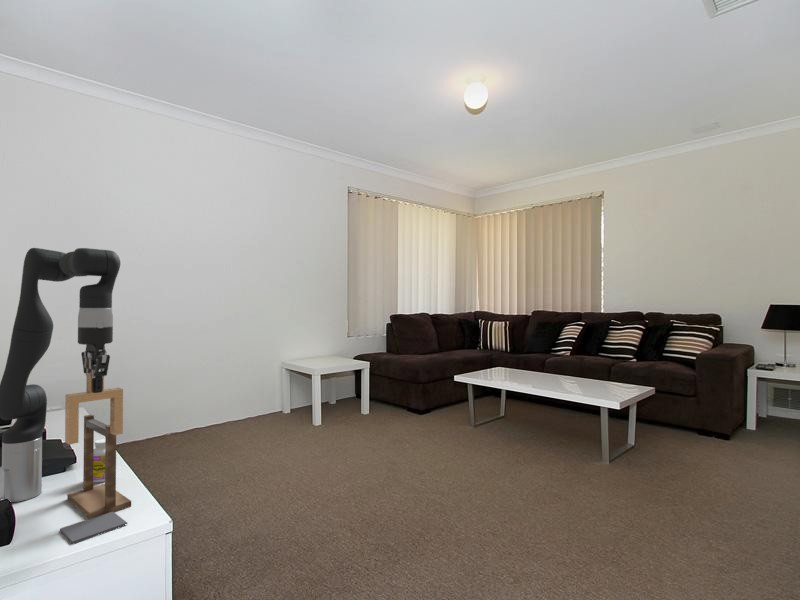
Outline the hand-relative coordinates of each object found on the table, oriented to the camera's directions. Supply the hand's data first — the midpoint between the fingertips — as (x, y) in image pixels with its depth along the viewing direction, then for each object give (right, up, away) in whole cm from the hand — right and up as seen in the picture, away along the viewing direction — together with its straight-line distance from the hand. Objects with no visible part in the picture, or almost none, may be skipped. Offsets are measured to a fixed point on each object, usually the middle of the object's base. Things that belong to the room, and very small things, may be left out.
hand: (94, 391), depth 115 cm
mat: (0, -35, 0) cm, 35 cm away
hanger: (0, -12, 0) cm, 12 cm away
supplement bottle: (-19, -36, +32) cm, 52 cm away
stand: (-9, -36, +14) cm, 39 cm away
